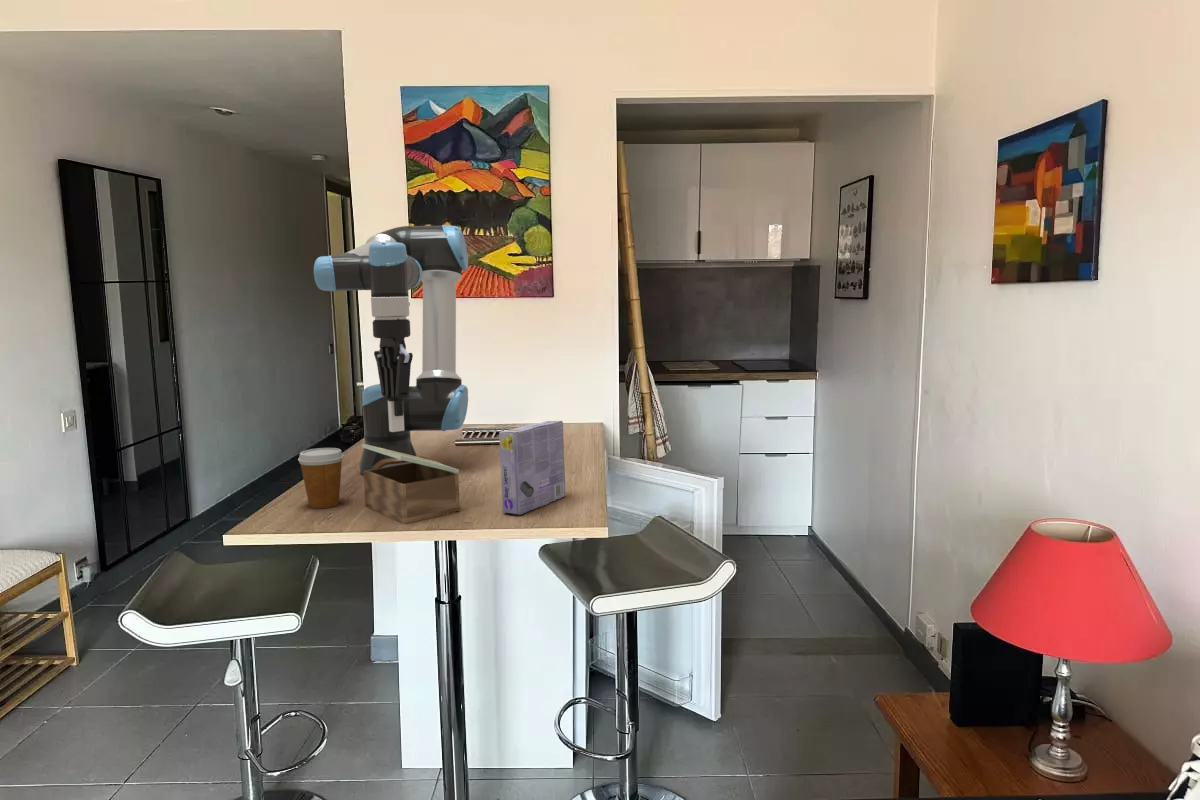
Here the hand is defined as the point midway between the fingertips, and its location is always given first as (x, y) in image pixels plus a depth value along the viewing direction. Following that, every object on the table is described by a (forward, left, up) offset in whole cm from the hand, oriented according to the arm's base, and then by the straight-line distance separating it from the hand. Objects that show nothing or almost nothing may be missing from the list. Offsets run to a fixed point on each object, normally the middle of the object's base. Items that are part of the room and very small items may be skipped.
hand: (396, 430), depth 167 cm
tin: (-14, +8, -18) cm, 24 cm away
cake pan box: (+16, +24, -18) cm, 34 cm away
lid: (0, +3, -7) cm, 7 cm away
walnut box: (0, +3, -18) cm, 18 cm away
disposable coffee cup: (-17, -10, -18) cm, 27 cm away
